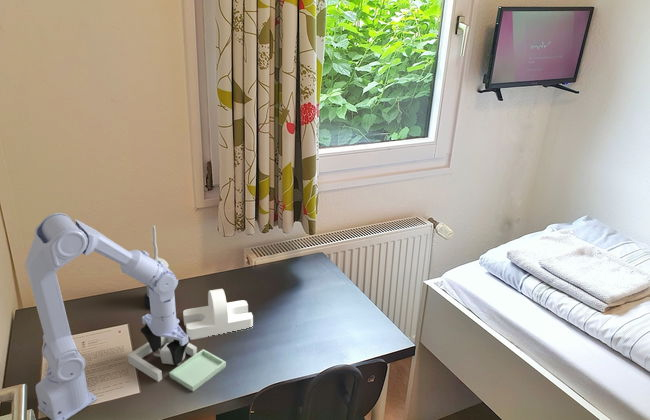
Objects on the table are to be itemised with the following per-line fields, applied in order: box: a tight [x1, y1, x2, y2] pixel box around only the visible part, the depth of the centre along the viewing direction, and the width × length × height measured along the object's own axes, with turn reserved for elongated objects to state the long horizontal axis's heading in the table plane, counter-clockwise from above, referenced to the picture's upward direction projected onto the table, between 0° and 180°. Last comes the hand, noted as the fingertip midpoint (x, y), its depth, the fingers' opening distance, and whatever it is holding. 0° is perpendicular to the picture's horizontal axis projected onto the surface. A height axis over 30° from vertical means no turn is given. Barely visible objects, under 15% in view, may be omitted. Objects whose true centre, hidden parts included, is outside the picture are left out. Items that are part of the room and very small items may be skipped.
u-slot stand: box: [182, 288, 254, 341], centre depth 143 cm, size 10×18×11 cm, turn 112°
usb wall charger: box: [153, 342, 186, 366], centre depth 129 cm, size 4×7×4 cm, turn 75°
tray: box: [169, 348, 227, 393], centre depth 127 cm, size 11×8×2 cm
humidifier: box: [144, 225, 170, 310], centre depth 148 cm, size 8×8×25 cm
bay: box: [127, 337, 198, 383], centre depth 130 cm, size 12×11×2 cm
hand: (167, 356), depth 129 cm, fingers closed on usb wall charger, 7 cm apart
